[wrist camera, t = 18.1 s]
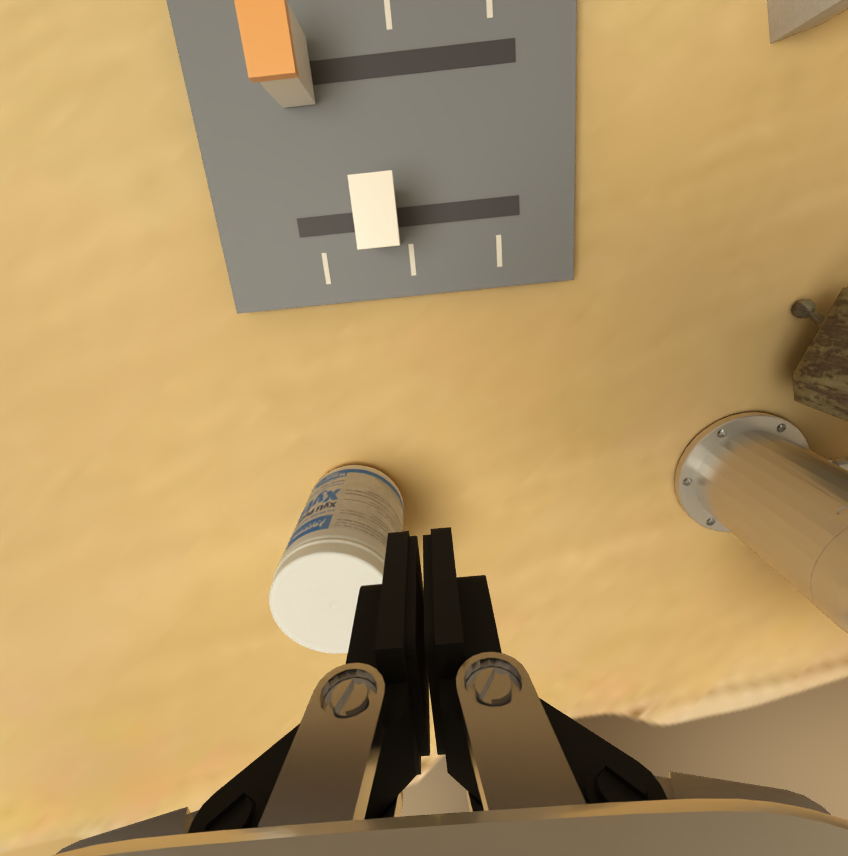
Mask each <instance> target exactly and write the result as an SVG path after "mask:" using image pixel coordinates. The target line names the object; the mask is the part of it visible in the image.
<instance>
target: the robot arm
mask: <svg viewBox="0 0 848 856" xmlns="http://www.w3.org/2000/svg"><path fill="white" fill-rule="evenodd" d="M674 483H675V493H676V496H677V499H678V502H679V504H680V505H681V507H682V509H683V510H684V511H685V512H686V513H687V514H688V515H689V516H690V517H691V518H692V519H693V520H694V521H696V522H697V523H698V524H700V525H702V526H703V527H705V528H708V529H711V530H715V531H720V532H732V533H733V534H734V535H735V536H736V537H738V538H739V539H740V540H741V541H742V542H743V543H744V544H746V545H747V546H748V547H749V548H750V549H751V550H752V551H753V552H755V553H756V554H757V555H758V556H759V557H760V558H761V559H763V560H764V561H765V562H766V563H767V564H768V565H769V566H770V567H772V568H773V569H774V570H775V571H776V572H777V573H778V574H780V575H781V576H782V577H783V578H784V579H785V580H786V581H787V582H789V583H790V584H791V585H792V586H793V587H794V588H795V589H797V590H798V591H799V592H800V593H801V594H802V595H803V596H804V597H806V598H807V599H808V600H809V601H810V602H811V603H812V604H814V605H815V606H816V607H817V608H818V609H819V610H820V611H821V612H822V613H823V614H825V615H826V616H827V617H828V618H829V619H830V620H831V621H833V622H834V623H835V624H836V625H837V626H839V627H840V628H841V629H843V630H844V631H845V632H847V633H848V458H847V457H842V458H831V459H827V458H825V457H823V456H821V455H819V454H817V453H815V452H813V451H811V450H810V449H809V445H808V443H807V441H806V439H805V437H804V435H803V434H802V433H801V432H800V430H799V429H798V428H797V427H795V426H794V425H793V424H791V423H790V422H788V421H786V420H784V419H782V418H780V417H778V416H774V415H771V414H768V413H760V412H748V413H740V414H736V415H732V416H728V417H726V418H724V419H722V420H719V421H717V422H715V423H714V424H712V425H710V426H709V427H707V428H706V429H704V430H703V431H702V432H701V433H700V434H699V435H697V436H696V437H695V438H694V439H693V440H692V442H691V443H690V444H689V445H688V447H687V448H686V449H685V451H684V453H683V455H682V456H681V458H680V460H679V463H678V466H677V469H676V473H675V480H674ZM423 573H424V590H423V582H422V573H421V565H420V556H419V547H418V539H417V536H410V535H409V531H404V532H392V533H388V536H387V545H386V553H385V562H384V570H383V579H382V584H375V585H363V586H361V587H360V590H359V594H358V600H357V605H356V611H355V616H354V622H353V627H352V633H351V638H350V644H349V649H348V654H347V660H346V664H345V665H342V666H339V667H337V668H335V669H333V670H332V671H330V672H328V673H327V674H326V675H325V676H324V677H323V678H322V679H321V680H320V681H319V683H318V684H317V686H316V688H315V689H314V691H313V694H312V696H311V699H310V701H309V704H308V706H307V708H306V711H305V713H304V716H303V718H302V721H301V723H300V724H299V725H298V726H296V727H295V728H294V729H293V730H291V731H290V732H289V733H288V734H287V735H285V736H284V737H283V738H282V739H280V740H279V741H278V742H277V743H276V744H274V745H273V746H272V747H271V748H269V749H268V750H267V751H266V752H265V753H263V754H262V755H261V756H260V757H258V758H257V759H256V760H255V761H254V762H252V763H251V764H250V765H249V766H247V767H246V768H245V769H244V770H243V771H241V772H240V773H239V774H238V775H236V776H235V777H234V778H233V779H232V780H230V781H229V782H228V783H227V784H225V785H224V786H223V787H222V788H221V789H219V790H218V791H217V792H216V793H214V794H213V795H212V796H211V797H210V798H209V799H208V800H207V801H206V802H205V803H204V804H203V805H202V807H201V808H200V810H198V811H195V812H192V813H190V811H189V809H188V807H185V808H182V809H179V810H176V811H173V812H169V813H166V814H163V815H160V816H157V817H153V818H150V819H147V820H144V821H141V822H137V823H134V824H131V825H128V826H125V827H122V828H118V829H115V830H112V831H109V832H106V833H102V834H99V835H96V836H93V837H90V838H86V839H83V840H80V841H78V842H76V843H73V844H71V845H69V846H67V847H65V848H63V849H62V850H60V851H59V852H58V853H56V854H55V855H53V856H848V820H845V819H842V818H839V817H836V816H832V815H831V814H830V813H829V812H828V811H826V809H824V808H823V807H822V806H821V805H819V804H817V803H816V802H814V801H812V800H811V799H809V798H807V797H806V796H804V795H801V794H798V793H795V792H791V791H788V790H784V789H777V788H771V787H765V786H759V785H753V784H745V783H740V782H734V781H727V780H721V779H715V778H708V777H702V776H696V775H689V774H683V773H677V772H671V771H670V772H669V778H666V777H660V776H654V775H653V774H652V773H651V772H650V771H649V770H648V769H647V768H645V767H644V766H643V765H642V764H640V763H639V762H638V761H636V760H635V759H633V758H632V757H630V756H629V755H627V754H625V753H624V752H622V751H621V750H619V749H618V748H616V747H615V746H613V745H611V744H610V743H608V742H607V741H605V740H604V739H602V738H601V737H599V736H598V735H596V734H594V733H593V732H591V731H590V730H588V729H587V728H585V727H583V726H582V725H580V724H579V723H577V722H576V721H574V720H573V719H571V718H570V717H568V716H566V715H565V714H563V713H562V712H560V711H559V710H557V709H556V708H554V707H553V706H551V705H549V704H548V703H546V702H545V701H543V700H542V699H540V698H539V697H538V695H537V692H536V690H535V688H534V686H533V684H532V681H531V679H530V677H529V675H528V673H527V671H526V670H525V668H524V667H523V665H522V664H521V663H519V662H518V661H517V660H516V659H515V658H513V657H511V656H508V655H506V654H503V653H502V652H501V648H500V643H499V638H498V633H497V628H496V623H495V618H494V614H493V609H492V604H491V599H490V594H489V589H488V584H487V580H486V576H485V575H481V576H469V577H456V569H455V560H454V551H453V542H452V533H451V527H449V528H438V529H431V535H423ZM429 689H430V697H431V705H432V713H433V721H434V729H435V737H436V746H437V753H438V755H443V754H446V762H447V770H448V773H449V774H450V775H451V776H452V777H453V778H454V779H455V780H456V781H457V782H459V783H460V784H461V785H462V786H463V787H464V788H465V789H466V790H467V800H468V804H469V809H470V812H461V813H447V814H433V815H419V816H405V817H401V812H402V806H403V792H402V791H403V789H404V788H405V787H406V786H407V785H408V784H409V783H410V782H411V781H412V780H413V778H414V777H415V776H416V775H418V774H421V756H429V755H430V723H429Z"/></svg>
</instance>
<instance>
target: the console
mask: <svg viewBox="0 0 848 856" xmlns="http://www.w3.org/2000/svg"><path fill="white" fill-rule="evenodd" d="M287 2H288V4H289V6H290V8H291V10H292V12H293V13H294V15H295V17H296V19H297V21H298V23H299V25H300V27H301V29H302V31H303V33H304V35H305V37H306V43H307V49H308V56H309V63H310V69H311V76H312V83H313V90H314V96H315V103H316V104H313V105H304V106H295V107H286V108H282V106H281V105H280V104H279V103H278V102H277V101H276V100H275V99H274V98H273V97H272V96H271V94H270V93H269V92H268V91H267V90H266V89H265V88H264V87H263V86H262V85H261V84H260V82H254V83H253V82H252V81H251V80H250V79H249V77H248V72H247V67H246V61H245V56H244V51H243V45H242V40H241V35H240V29H239V24H238V19H237V13H236V8H235V2H234V0H167V5H168V9H169V14H170V18H171V22H172V27H173V31H174V36H175V40H176V45H177V49H178V53H179V58H180V62H181V67H182V71H183V76H184V80H185V84H186V89H187V93H188V98H189V102H190V107H191V111H192V115H193V120H194V124H195V129H196V133H197V138H198V142H199V146H200V151H201V155H202V160H203V164H204V169H205V173H206V177H207V182H208V186H209V191H210V195H211V200H212V204H213V208H214V213H215V217H216V222H217V226H218V231H219V235H220V239H221V244H222V248H223V253H224V257H225V262H226V266H227V271H228V275H229V279H230V284H231V288H232V293H233V297H234V302H235V306H236V310H237V314H238V313H248V312H258V311H268V310H278V309H288V308H298V307H308V306H318V305H328V304H338V303H348V302H357V301H367V300H377V299H387V298H397V297H407V296H417V295H427V294H437V293H447V292H457V291H467V290H477V289H487V288H497V287H507V286H517V285H526V284H536V283H546V282H556V281H566V280H574V202H575V108H576V14H577V0H287ZM388 170H392V172H393V182H394V189H395V198H396V207H397V217H398V226H399V236H400V246H391V247H381V248H371V249H362V250H357V242H356V235H355V228H354V220H353V213H352V205H351V198H350V191H349V183H348V176H347V175H351V174H360V173H370V172H379V171H388Z"/></svg>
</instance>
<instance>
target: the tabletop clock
mask: <svg viewBox="0 0 848 856" xmlns="http://www.w3.org/2000/svg"><path fill="white" fill-rule="evenodd" d="M815 308H816V305H815V304H814V303H813V302H812V301H811V300H806V299H802V300H800V301H798V302H796V303H795V304H794V305H793V308H792V313H793V314H794V315H795V316H796V317H797V318H807V317H809V318H810V319H811V320H813V321H814V322H815V323H816V324H817V325H818V326H819V327H820V328H819V330H818V332H817V333H816V335H815V337H814V338H813V340H812V342H811V343H810V345H809V347H808V349H807V350H806V352H805V354H804V355H803V357H802V359H801V361H800V362H799V364H798V366H797V367H796V369H795V371H794V373H793V374H792V380H793V390H794V400H795V401H797V402H800V403H802V404H805V405H807V406H810V407H812V408H815V409H817V410H820V411H823V412H825V413H828V414H830V415H833V416H836V417H838V418H841V419H843V420H846V421H848V287H847V288H843V289H842V291H841V292H840V294H839V296H838V297H837V299H836V301H835V302H834V304H833V306H832V308H831V309H830V311H829V313H828V314H827V316H826V318H824V317H822V316H821V315H819V314H817V313H815Z"/></svg>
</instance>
